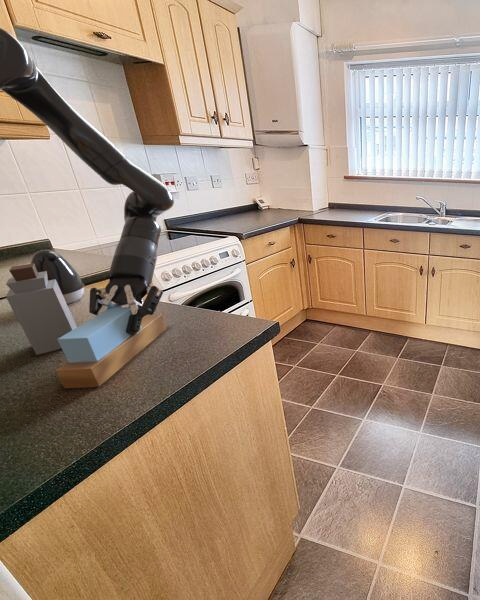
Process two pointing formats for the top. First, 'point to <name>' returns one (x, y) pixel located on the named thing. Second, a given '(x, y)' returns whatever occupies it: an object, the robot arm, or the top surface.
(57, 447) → the top surface
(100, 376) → the wooden board
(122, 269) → the robot arm
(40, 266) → the pump dispenser
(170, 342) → the top surface
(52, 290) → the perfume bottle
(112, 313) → the light blue bottle
